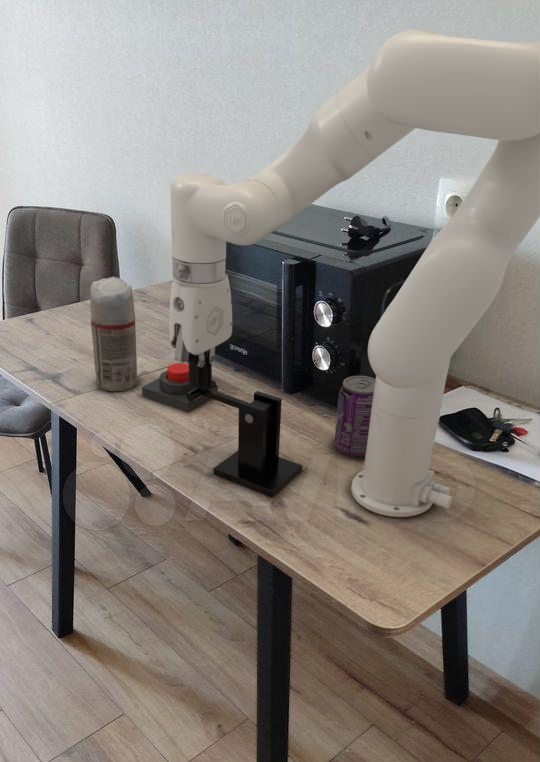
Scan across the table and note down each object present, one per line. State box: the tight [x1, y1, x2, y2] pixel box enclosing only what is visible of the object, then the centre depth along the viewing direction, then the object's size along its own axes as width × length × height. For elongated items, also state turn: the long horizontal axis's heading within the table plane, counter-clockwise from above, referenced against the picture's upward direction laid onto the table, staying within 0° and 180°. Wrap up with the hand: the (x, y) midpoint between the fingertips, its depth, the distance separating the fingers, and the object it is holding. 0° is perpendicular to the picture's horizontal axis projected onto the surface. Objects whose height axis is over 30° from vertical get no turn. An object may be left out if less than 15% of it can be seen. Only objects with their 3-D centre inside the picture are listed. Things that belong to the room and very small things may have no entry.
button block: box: [141, 370, 219, 413], centre depth 132 cm, size 11×9×4 cm
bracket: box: [213, 390, 303, 498], centre depth 108 cm, size 11×9×13 cm
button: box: [166, 363, 189, 382], centre depth 131 cm, size 4×4×2 cm
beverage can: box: [333, 375, 376, 457], centre depth 116 cm, size 7×7×12 cm
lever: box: [186, 379, 272, 421], centre depth 108 cm, size 13×6×2 cm, turn 57°
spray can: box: [89, 275, 138, 392], centre depth 131 cm, size 8×8×20 cm
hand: (200, 386), depth 110 cm, fingers closed
